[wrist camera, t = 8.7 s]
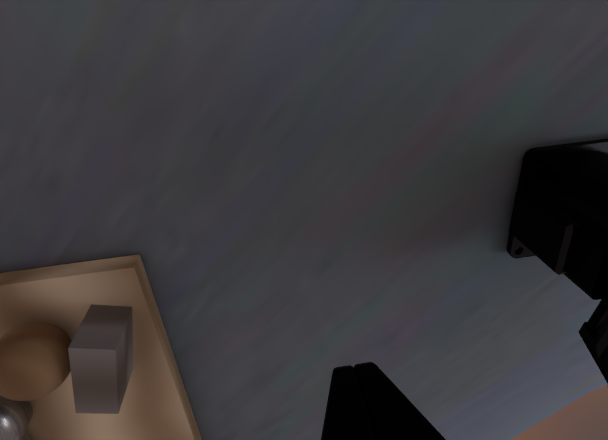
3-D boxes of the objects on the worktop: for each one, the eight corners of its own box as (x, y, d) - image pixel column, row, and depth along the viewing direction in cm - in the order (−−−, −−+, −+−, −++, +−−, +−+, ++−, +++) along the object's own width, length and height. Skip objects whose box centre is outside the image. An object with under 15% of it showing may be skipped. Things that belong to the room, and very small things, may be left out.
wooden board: (139, 254, 21) (116, 307, 17) (213, 474, 31) (208, 538, 27) (-166, 295, 20) (-258, 359, 17) (8, 509, 30) (-26, 580, 26)
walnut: (71, 302, 21) (38, 357, 17) (94, 353, 22) (69, 411, 19) (-3, 313, 20) (-49, 369, 17) (27, 363, 22) (-10, 423, 19)
